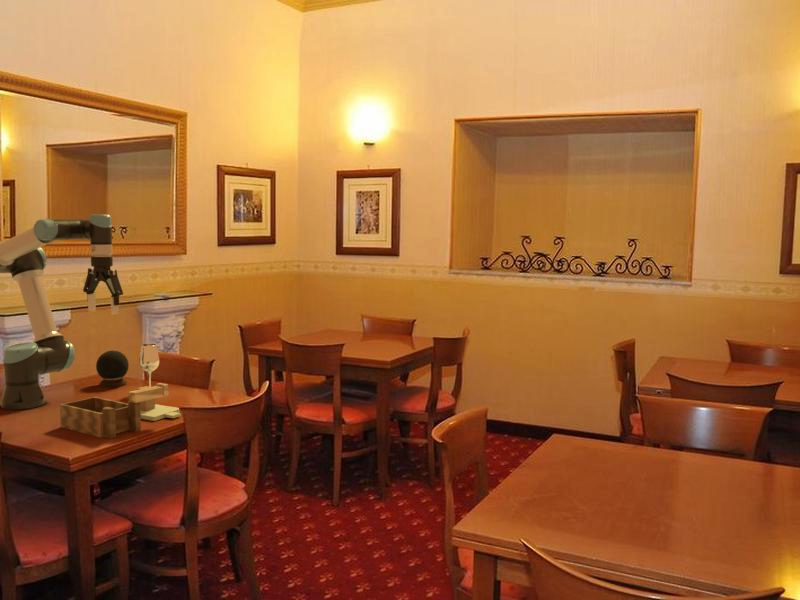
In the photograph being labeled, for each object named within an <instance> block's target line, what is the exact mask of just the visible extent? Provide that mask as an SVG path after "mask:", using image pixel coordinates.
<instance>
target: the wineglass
mask: <svg viewBox="0 0 800 600" xmlns="http://www.w3.org/2000/svg"><path fill="white" fill-rule="evenodd" d="M140 348H141V349H140V354H139V366H140V369H142V370H143V371H145V372H147V374H148V386H149V387H152V384H151V383H152V382H151V379H152V372H154V371H155V370H157V368H158V367H159V365H160V357H159V356H160V355H159V351H158V347H157V344H156V343H144V344H142V345H141V347H140Z"/></svg>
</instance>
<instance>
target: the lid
mask: <svg viewBox="0 0 800 600" xmlns="http://www.w3.org/2000/svg"><path fill="white" fill-rule="evenodd" d="M144 388H149V385H144V386H141V387H137V388H136V390H140V389H144ZM179 408H180V407H176V406H168V405H162V404H157V403H156V398H155V399H151V400H147V401H142V402H140V414H141V420H147V421H150V422H151V421H152V422H156V421H159V420H161V419H166V418H167V419H168V418H169V419H176V418H178V417H181V416H182V415H181V414H182V413H180V411H179Z"/></svg>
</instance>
